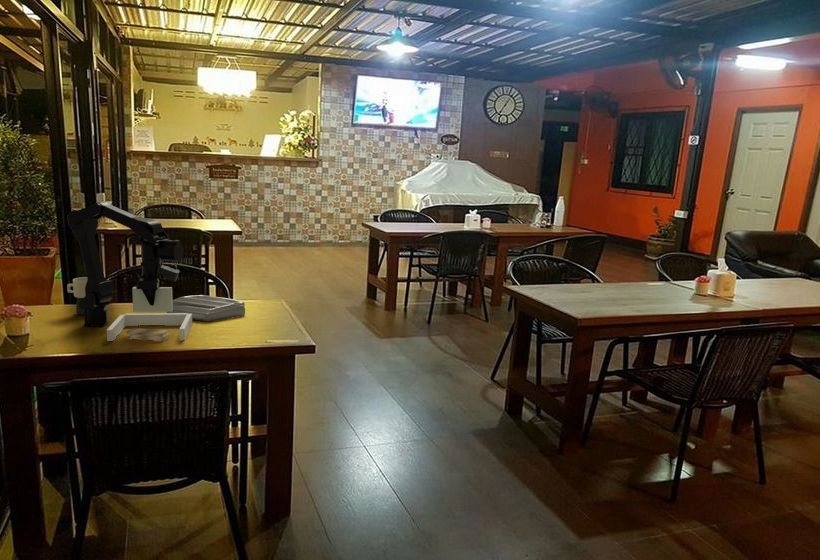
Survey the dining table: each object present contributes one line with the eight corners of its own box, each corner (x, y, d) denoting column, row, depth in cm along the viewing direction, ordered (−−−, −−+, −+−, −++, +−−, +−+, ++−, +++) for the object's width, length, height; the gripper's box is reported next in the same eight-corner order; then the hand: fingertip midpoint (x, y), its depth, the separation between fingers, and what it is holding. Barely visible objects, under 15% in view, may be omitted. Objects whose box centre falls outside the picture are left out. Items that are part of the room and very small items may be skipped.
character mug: (104, 310, 219) (102, 276, 216) (100, 315, 212) (98, 280, 209) (71, 311, 215) (69, 277, 213) (66, 316, 209) (64, 281, 206)
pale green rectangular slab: (133, 311, 194) (132, 288, 193) (134, 310, 196) (133, 287, 195) (171, 311, 197) (171, 288, 196) (172, 310, 199) (172, 287, 197)
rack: (107, 341, 184) (106, 329, 184) (122, 324, 203) (121, 313, 202) (184, 340, 190) (184, 328, 189) (192, 324, 208) (192, 313, 208)
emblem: (244, 291, 240) (245, 308, 214) (244, 304, 242) (245, 322, 215) (171, 292, 233) (163, 309, 206) (171, 305, 234) (163, 324, 207)
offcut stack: (126, 340, 188) (126, 331, 188) (133, 336, 192) (132, 327, 192) (163, 342, 188) (163, 333, 187) (169, 339, 192) (169, 330, 191)
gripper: (172, 264, 186) (173, 311, 189) (181, 254, 204) (182, 298, 207) (134, 263, 184) (136, 311, 187) (146, 254, 201) (148, 298, 204)
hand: (152, 304), depth 196 cm, fingers closed on pale green rectangular slab, 2 cm apart
